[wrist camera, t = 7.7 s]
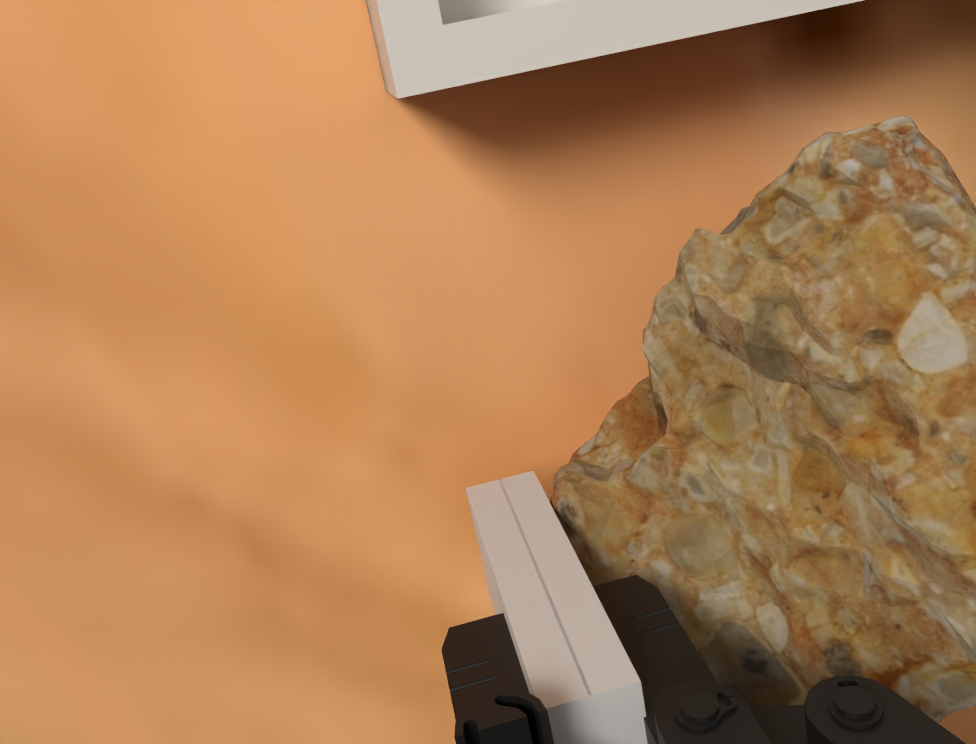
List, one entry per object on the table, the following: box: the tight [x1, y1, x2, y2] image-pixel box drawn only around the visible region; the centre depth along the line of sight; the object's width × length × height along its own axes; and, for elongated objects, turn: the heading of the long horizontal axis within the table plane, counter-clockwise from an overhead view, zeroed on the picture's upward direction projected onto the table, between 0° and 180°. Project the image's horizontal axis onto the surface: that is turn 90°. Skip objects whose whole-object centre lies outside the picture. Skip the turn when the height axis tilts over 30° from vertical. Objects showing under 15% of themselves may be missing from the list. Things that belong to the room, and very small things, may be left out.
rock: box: [550, 116, 976, 723], centre depth 17 cm, size 12×10×10 cm
